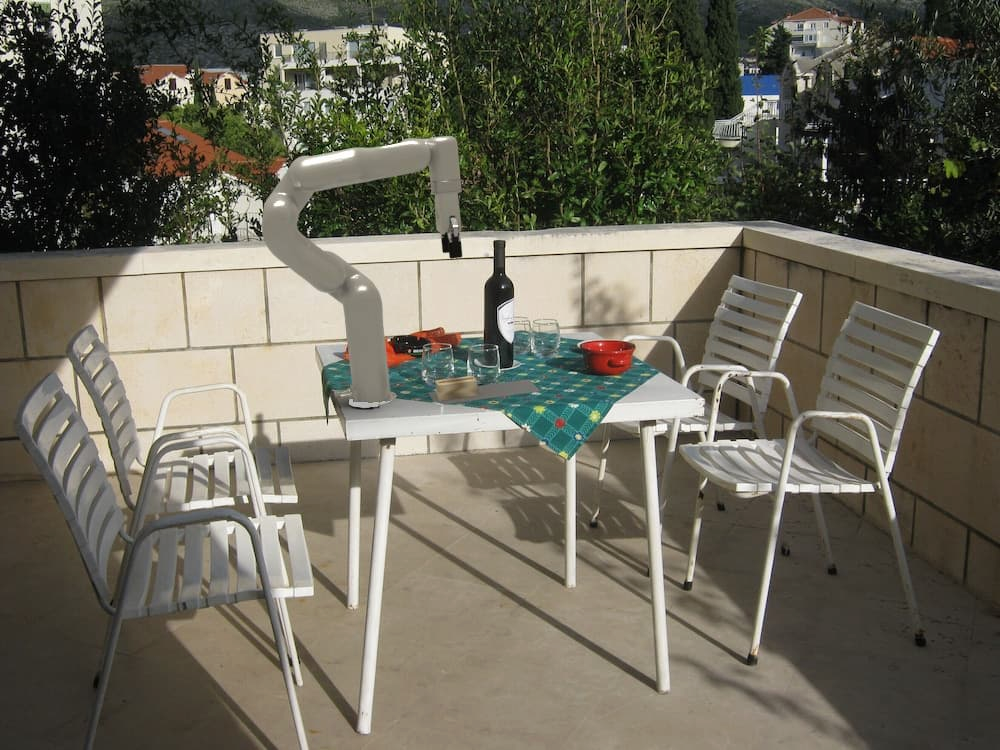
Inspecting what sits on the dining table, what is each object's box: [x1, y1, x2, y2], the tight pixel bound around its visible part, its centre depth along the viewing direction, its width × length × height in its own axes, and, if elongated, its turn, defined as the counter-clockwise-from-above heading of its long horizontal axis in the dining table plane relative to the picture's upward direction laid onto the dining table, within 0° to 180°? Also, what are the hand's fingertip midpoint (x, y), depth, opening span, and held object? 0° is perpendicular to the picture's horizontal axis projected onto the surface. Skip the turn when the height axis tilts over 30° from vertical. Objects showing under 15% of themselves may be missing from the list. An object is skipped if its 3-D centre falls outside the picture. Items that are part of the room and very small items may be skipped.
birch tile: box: [434, 375, 479, 401], centre depth 274 cm, size 10×5×4 cm, turn 103°
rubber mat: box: [428, 378, 542, 405], centre depth 276 cm, size 27×12×1 cm, turn 103°
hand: (452, 255), depth 272 cm, fingers open, 9 cm apart
